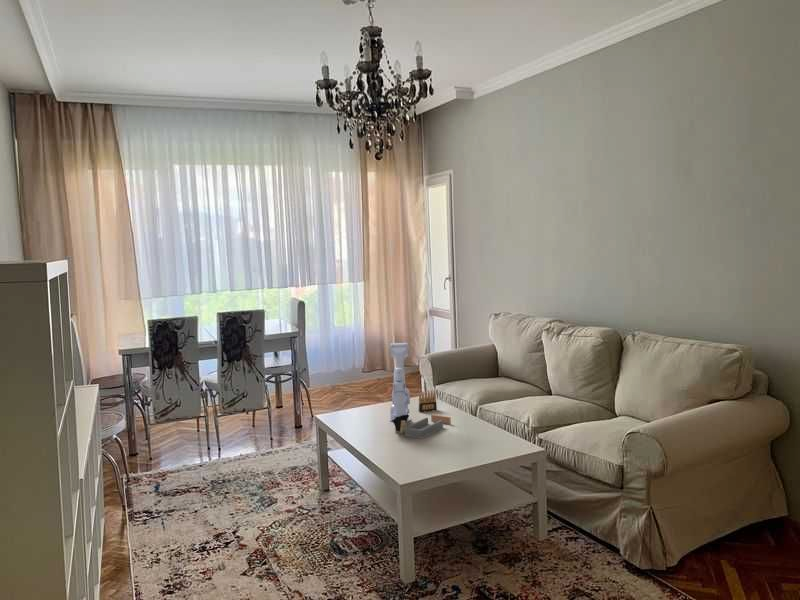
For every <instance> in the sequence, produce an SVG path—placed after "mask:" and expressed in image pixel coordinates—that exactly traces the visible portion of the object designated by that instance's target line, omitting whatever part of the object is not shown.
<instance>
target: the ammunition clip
mask: <svg viewBox="0 0 800 600" xmlns="http://www.w3.org/2000/svg"><path fill="white" fill-rule="evenodd" d="M437 407H438V406H437V395H436V390H435V389H434V390H430V391H429V390H428V392H427V390H425V391H422V392H421V391H419V394H418V412H419V413H424V411H426V412H432V410H435V411H437V410H438V408H437Z"/></svg>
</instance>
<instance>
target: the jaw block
mask: <svg viewBox="0 0 800 600" xmlns="http://www.w3.org/2000/svg"><path fill="white" fill-rule="evenodd" d="M405 427H407V422H406V421H405V420H402V421H401V428H400V431H396V428H394V431H395V432H396V434H399V433H401V435H402V433H403V434H405V433H404V432H405Z"/></svg>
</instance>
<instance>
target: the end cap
mask: <svg viewBox="0 0 800 600" xmlns="http://www.w3.org/2000/svg"><path fill="white" fill-rule="evenodd" d="M430 416H431V417H430V419H431V421H430V422H434V423H436V422H438V421H440V420H443V424H448V425H451V424H452V421H451V416H448V415H441V414H431V415H430Z"/></svg>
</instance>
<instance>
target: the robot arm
mask: <svg viewBox="0 0 800 600" xmlns="http://www.w3.org/2000/svg"><path fill="white" fill-rule="evenodd" d="M389 350H390V351H389V352H390V353H389V354H390V356H391V358H394V360H395V369H394V370H393V382H392V392H391V402H392V403H391V404H392V405H391V406H390V414H389V415H390V419H389V422H393V425H394V427H395V428H396V431H400V428H401V421H402V420H405V421H406V423H408V422H409V421H412V418H409V417H410V409H409V405H410V403H411V394H410V390H409V389H408V388H407V387H406V378H405V373H406V372H405V367H404V366H405V358H407V357H409V343H408V342H391V343H390V345H389ZM395 428H394V429H395Z"/></svg>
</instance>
